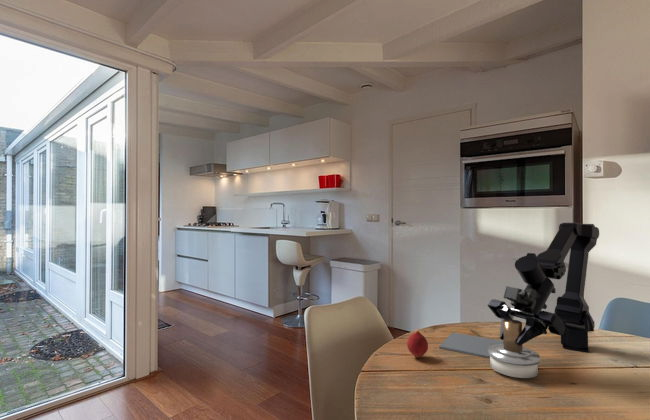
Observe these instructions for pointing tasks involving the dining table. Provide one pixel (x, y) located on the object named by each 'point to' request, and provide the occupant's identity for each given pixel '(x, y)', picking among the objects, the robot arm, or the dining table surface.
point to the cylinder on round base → (513, 347)
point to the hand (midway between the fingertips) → (509, 341)
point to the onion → (417, 344)
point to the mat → (469, 344)
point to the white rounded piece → (514, 369)
